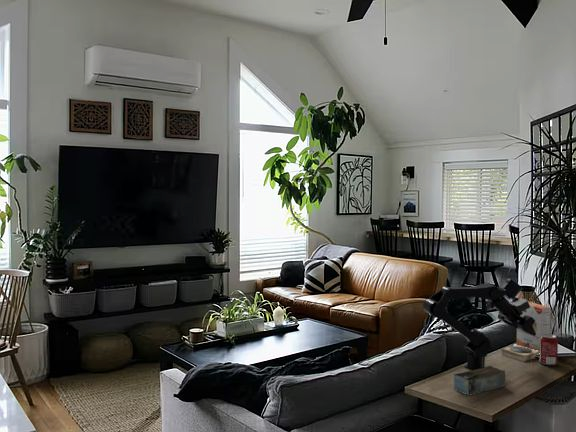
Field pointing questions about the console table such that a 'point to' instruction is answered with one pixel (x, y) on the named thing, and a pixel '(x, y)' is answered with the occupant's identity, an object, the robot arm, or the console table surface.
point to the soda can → (548, 349)
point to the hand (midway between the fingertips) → (528, 332)
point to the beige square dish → (520, 352)
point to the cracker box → (535, 326)
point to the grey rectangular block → (479, 380)
